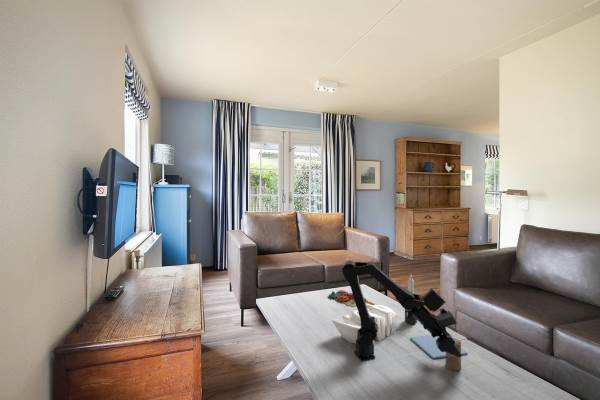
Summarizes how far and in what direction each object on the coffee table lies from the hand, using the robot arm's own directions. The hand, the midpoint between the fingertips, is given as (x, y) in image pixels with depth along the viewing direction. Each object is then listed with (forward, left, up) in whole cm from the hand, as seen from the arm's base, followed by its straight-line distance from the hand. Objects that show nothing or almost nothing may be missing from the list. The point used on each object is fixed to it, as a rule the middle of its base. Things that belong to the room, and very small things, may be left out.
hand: (457, 349), depth 107 cm
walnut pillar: (-1, +1, -7) cm, 7 cm away
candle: (+8, +37, -7) cm, 39 cm away
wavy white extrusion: (-19, +33, -7) cm, 39 cm away
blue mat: (+4, +14, -7) cm, 16 cm away
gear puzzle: (-8, +72, -7) cm, 73 cm away
